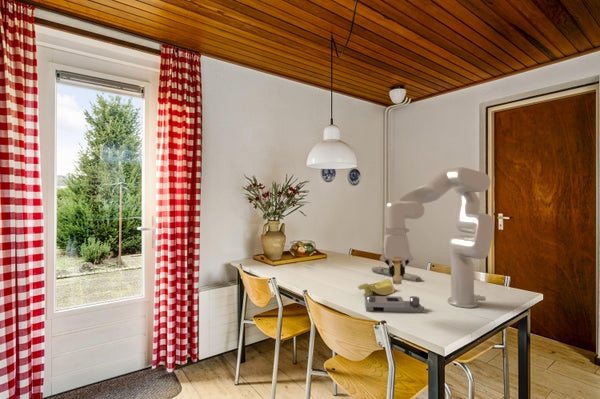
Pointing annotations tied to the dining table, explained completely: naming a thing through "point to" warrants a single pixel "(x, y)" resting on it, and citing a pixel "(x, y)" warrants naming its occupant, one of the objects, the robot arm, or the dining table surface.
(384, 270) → the elongated rock
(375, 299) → the grey mechanical device
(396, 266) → the brass pin
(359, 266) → the dining table surface
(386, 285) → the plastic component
